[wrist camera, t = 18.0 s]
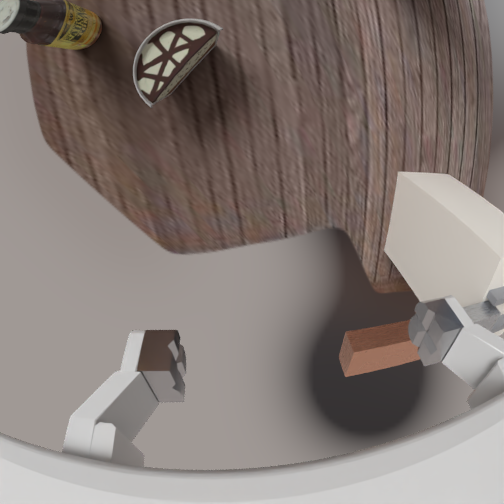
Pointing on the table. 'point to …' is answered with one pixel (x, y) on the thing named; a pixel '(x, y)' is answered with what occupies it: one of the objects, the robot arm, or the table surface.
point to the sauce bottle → (50, 23)
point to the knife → (396, 342)
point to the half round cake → (171, 56)
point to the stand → (447, 241)
